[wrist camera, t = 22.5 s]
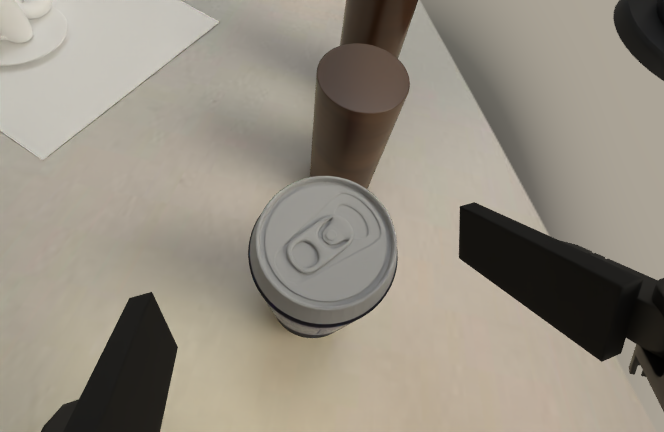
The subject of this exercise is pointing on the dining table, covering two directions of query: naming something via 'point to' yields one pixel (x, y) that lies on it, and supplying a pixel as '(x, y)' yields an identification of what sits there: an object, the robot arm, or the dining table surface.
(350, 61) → the walnut peg middle
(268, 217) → the beverage can
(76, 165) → the dining table surface
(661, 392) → the robot arm
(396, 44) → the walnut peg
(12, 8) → the teacup and saucer
